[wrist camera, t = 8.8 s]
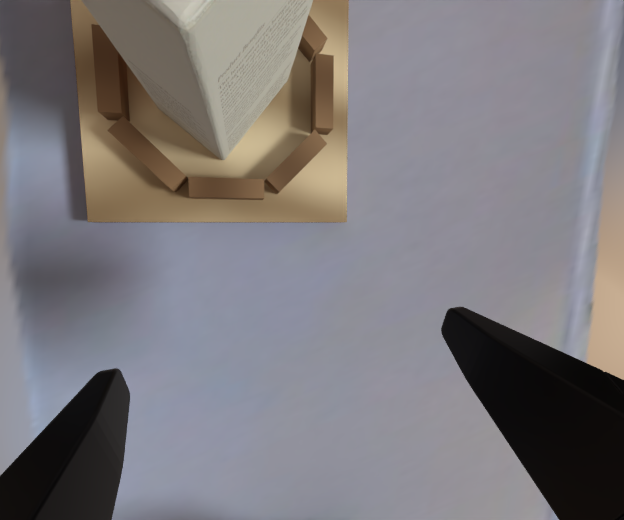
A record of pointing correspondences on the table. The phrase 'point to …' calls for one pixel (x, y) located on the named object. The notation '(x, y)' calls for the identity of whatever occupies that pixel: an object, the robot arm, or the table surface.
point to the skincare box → (207, 58)
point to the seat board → (203, 163)
